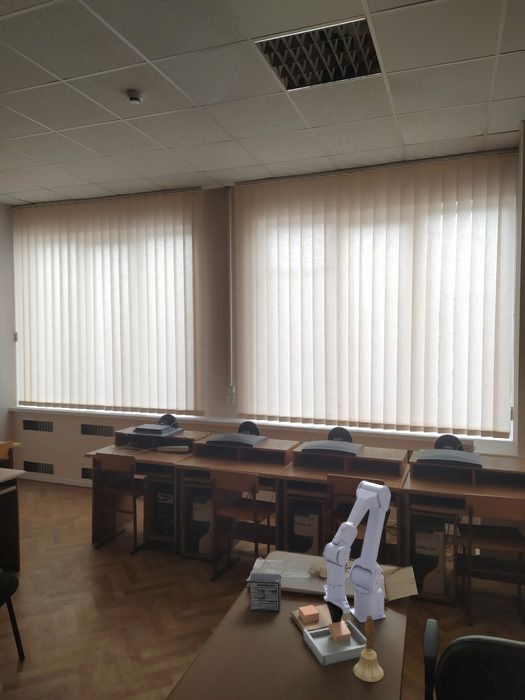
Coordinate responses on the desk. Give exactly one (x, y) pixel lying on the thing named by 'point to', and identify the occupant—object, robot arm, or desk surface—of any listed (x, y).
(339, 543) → the robot arm
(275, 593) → the small box
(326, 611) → the plate
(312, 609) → the tile far
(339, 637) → the tile near
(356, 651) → the tray
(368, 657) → the hand bell
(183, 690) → the desk surface
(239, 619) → the desk surface
